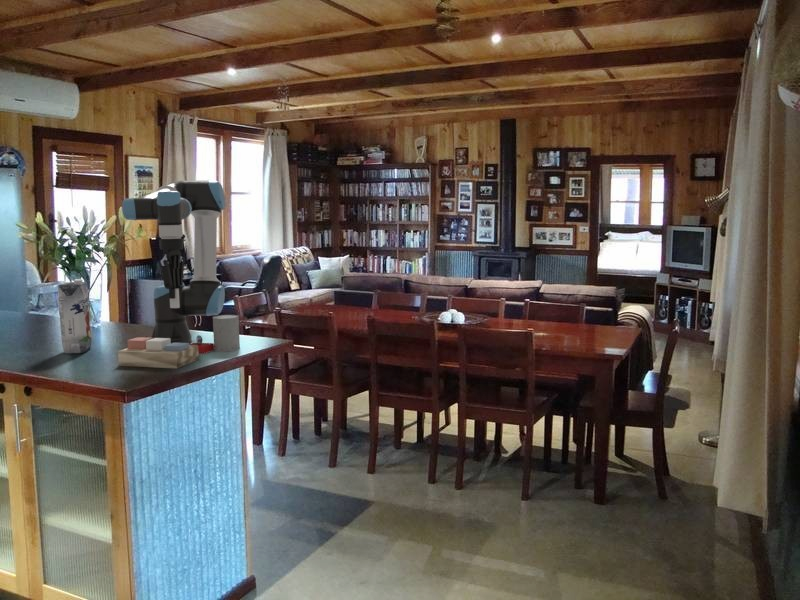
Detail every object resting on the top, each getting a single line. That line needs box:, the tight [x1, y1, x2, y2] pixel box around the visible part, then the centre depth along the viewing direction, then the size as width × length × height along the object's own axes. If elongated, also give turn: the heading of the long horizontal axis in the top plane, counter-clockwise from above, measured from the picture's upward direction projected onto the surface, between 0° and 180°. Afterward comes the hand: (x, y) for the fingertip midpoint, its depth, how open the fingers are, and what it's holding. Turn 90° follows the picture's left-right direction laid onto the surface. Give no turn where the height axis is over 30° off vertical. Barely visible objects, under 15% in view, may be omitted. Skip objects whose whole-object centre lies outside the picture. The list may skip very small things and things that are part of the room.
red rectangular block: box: [189, 334, 215, 354], centre depth 261 cm, size 8×7×6 cm
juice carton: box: [57, 278, 92, 354], centre depth 262 cm, size 9×10×27 cm
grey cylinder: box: [211, 314, 241, 353], centre depth 264 cm, size 10×10×12 cm
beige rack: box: [117, 345, 200, 369], centre depth 242 cm, size 14×22×5 cm, turn 76°
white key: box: [146, 338, 171, 350], centre depth 242 cm, size 6×6×3 cm
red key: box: [126, 336, 152, 349], centre depth 243 cm, size 6×6×3 cm
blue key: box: [165, 342, 190, 351], centre depth 240 cm, size 6×6×3 cm
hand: (174, 307), depth 238 cm, fingers closed
